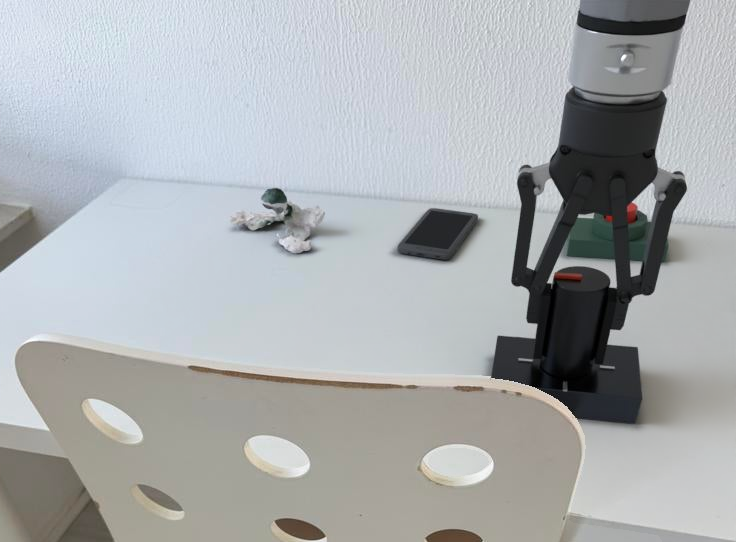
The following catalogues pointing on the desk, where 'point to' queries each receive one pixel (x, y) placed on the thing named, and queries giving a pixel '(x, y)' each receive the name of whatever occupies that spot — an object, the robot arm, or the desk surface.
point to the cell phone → (438, 233)
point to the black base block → (577, 380)
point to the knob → (574, 321)
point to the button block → (607, 238)
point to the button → (628, 213)
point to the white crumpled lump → (283, 219)
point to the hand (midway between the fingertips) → (567, 353)
